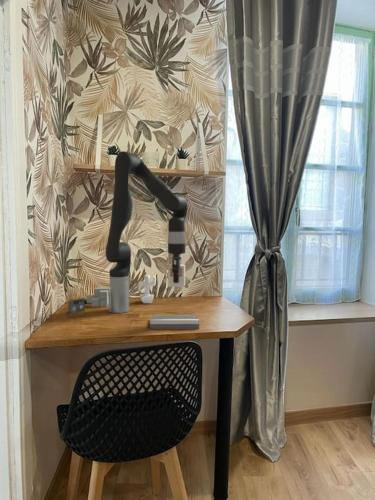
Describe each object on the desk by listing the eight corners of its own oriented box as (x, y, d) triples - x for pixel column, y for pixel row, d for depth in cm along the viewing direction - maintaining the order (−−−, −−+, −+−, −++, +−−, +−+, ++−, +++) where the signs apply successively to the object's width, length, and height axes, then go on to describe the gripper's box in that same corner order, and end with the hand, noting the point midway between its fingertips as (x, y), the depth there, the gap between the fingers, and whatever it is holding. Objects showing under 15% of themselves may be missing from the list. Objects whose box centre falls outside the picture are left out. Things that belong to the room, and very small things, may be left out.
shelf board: (150, 328, 126) (150, 320, 125) (152, 319, 137) (152, 311, 137) (199, 328, 126) (199, 320, 126) (197, 319, 138) (197, 311, 138)
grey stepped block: (88, 301, 170) (87, 287, 169) (110, 301, 171) (110, 287, 170) (83, 307, 158) (82, 292, 157) (107, 307, 159) (107, 291, 158)
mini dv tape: (82, 310, 153) (82, 298, 152) (84, 310, 152) (84, 298, 151) (68, 313, 146) (68, 301, 145) (70, 314, 145) (70, 301, 144)
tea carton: (184, 286, 132) (184, 265, 131) (168, 286, 132) (168, 265, 132) (185, 285, 136) (185, 264, 136) (169, 284, 137) (169, 264, 136)
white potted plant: (138, 300, 172) (138, 274, 171) (155, 300, 173) (155, 273, 172) (138, 304, 165) (138, 276, 164) (156, 303, 166) (156, 275, 165)
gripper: (184, 243, 126) (184, 284, 127) (186, 241, 140) (186, 279, 141) (165, 243, 126) (165, 284, 127) (169, 241, 140) (170, 279, 141)
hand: (176, 281), depth 134 cm, fingers closed on tea carton, 4 cm apart
